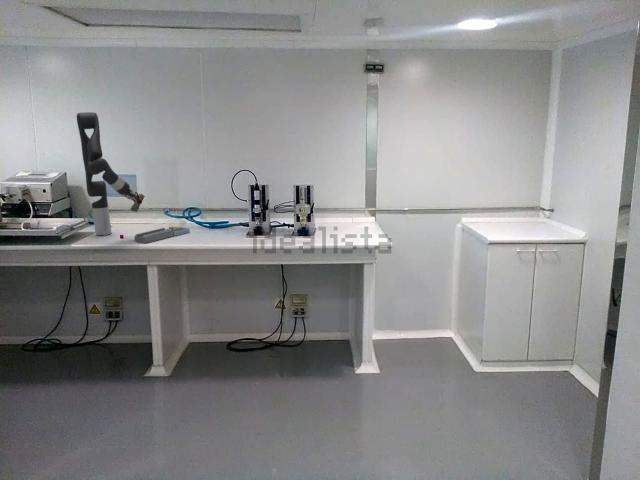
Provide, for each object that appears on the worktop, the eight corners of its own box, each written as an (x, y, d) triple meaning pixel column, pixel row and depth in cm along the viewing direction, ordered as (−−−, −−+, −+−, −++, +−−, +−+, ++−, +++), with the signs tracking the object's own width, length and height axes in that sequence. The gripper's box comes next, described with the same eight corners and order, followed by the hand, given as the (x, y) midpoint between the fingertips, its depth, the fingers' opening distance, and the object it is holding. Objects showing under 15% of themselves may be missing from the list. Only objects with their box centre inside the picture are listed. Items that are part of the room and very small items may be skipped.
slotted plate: (145, 243, 284) (145, 236, 283) (135, 241, 290) (134, 234, 289) (173, 236, 300) (172, 229, 299) (162, 234, 306) (162, 227, 305)
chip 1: (172, 227, 303) (176, 226, 305) (168, 227, 305) (172, 226, 307) (173, 234, 304) (177, 233, 306) (169, 233, 306) (173, 232, 308)
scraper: (134, 210, 291) (142, 194, 295) (129, 209, 294) (138, 193, 297) (137, 212, 293) (145, 196, 297) (132, 211, 296) (141, 195, 299)
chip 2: (181, 227, 309) (182, 231, 309) (177, 226, 311) (178, 231, 312) (176, 228, 305) (177, 233, 306) (172, 227, 308) (173, 232, 308)
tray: (174, 236, 300) (174, 232, 300) (162, 234, 306) (162, 230, 306) (189, 232, 310) (189, 228, 309) (178, 230, 316) (177, 226, 315)
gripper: (130, 180, 281) (150, 198, 294) (115, 179, 289) (135, 196, 302) (123, 190, 278) (143, 208, 291) (108, 189, 286) (129, 206, 299)
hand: (139, 202), depth 296 cm, fingers closed on scraper, 2 cm apart
